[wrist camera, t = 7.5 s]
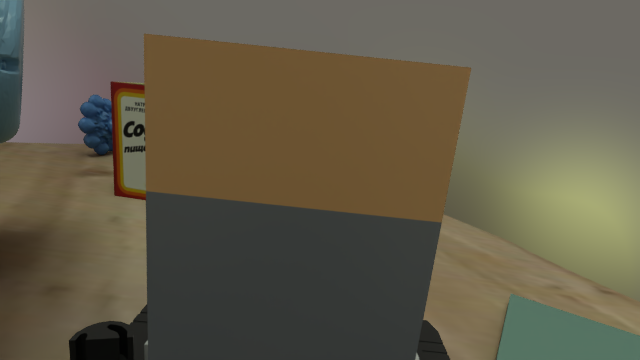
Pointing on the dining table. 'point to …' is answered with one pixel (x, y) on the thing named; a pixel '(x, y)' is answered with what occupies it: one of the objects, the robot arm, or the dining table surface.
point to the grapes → (97, 124)
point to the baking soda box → (129, 139)
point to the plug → (292, 199)
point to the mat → (560, 335)
